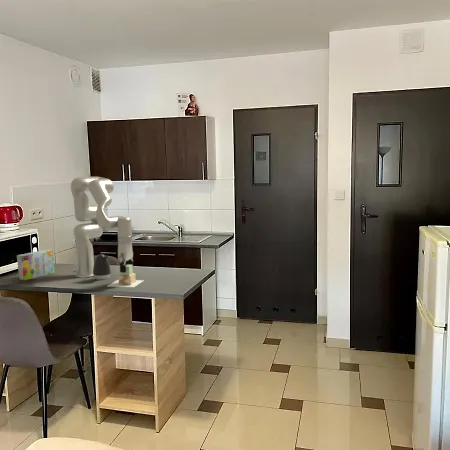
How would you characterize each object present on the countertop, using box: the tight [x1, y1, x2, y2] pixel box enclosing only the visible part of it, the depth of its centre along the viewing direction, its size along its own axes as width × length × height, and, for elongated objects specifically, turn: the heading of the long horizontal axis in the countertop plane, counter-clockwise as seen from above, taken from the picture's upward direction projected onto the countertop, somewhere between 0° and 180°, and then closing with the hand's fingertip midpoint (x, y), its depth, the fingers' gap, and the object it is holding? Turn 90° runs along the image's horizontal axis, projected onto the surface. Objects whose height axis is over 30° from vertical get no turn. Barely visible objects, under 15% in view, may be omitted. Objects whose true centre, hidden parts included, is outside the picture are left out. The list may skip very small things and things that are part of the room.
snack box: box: [16, 249, 56, 281], centre depth 281 cm, size 21×6×15 cm, turn 145°
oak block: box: [118, 272, 137, 285], centre depth 254 cm, size 7×7×5 cm
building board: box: [106, 279, 145, 288], centre depth 255 cm, size 16×15×1 cm
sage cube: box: [120, 264, 134, 276], centre depth 254 cm, size 5×5×5 cm
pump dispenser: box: [93, 253, 112, 281], centre depth 268 cm, size 10×10×15 cm
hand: (126, 270), depth 254 cm, fingers open, 9 cm apart
